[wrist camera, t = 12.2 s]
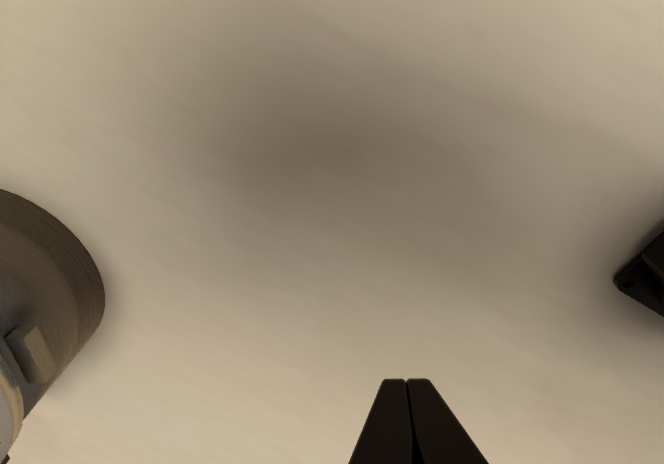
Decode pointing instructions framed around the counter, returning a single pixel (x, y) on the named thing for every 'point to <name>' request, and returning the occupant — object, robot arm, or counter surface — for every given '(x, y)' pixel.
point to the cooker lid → (9, 409)
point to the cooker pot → (43, 296)
